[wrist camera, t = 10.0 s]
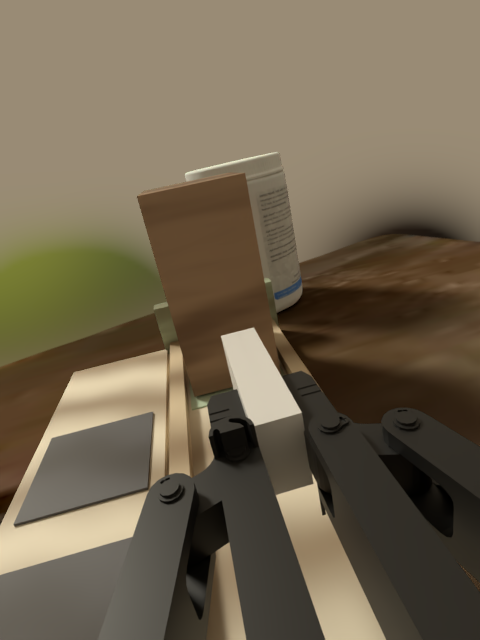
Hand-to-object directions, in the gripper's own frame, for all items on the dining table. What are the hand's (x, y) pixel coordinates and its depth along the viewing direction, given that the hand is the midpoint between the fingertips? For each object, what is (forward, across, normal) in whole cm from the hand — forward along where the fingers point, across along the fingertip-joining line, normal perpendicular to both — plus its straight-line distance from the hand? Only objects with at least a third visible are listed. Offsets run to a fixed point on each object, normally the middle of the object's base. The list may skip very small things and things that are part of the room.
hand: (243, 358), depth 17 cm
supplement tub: (+24, +5, -7) cm, 26 cm away
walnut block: (+10, 0, -6) cm, 11 cm away
